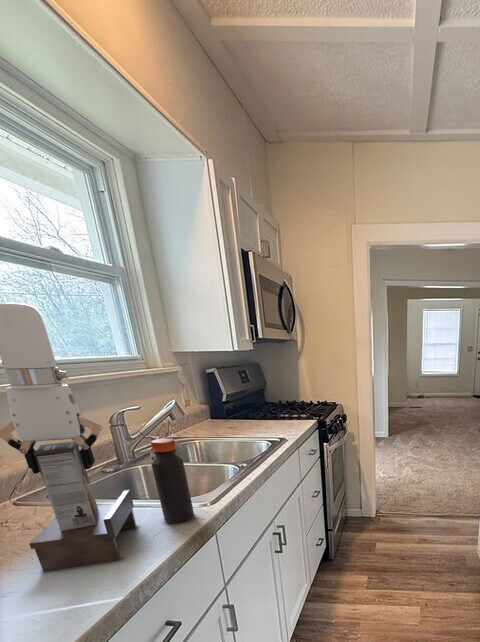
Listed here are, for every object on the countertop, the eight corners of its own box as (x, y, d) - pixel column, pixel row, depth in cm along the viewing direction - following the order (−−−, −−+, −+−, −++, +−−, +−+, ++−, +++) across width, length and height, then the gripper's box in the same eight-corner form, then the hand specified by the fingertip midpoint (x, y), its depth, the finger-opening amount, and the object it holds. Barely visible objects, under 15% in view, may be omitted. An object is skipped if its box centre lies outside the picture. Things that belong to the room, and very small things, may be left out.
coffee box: (64, 516, 87) (39, 444, 81) (99, 510, 90) (78, 440, 84) (60, 532, 80) (32, 453, 74) (98, 525, 83) (75, 449, 77)
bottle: (181, 511, 106) (165, 436, 98) (200, 515, 103) (184, 438, 95) (158, 521, 100) (139, 442, 92) (177, 526, 97) (159, 445, 90)
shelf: (40, 571, 78) (23, 529, 74) (71, 534, 94) (58, 497, 90) (122, 559, 82) (110, 518, 79) (139, 525, 98) (129, 489, 94)
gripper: (95, 375, 80) (118, 460, 87) (-14, 378, 75) (20, 468, 81) (83, 378, 73) (109, 470, 80) (-37, 381, 68) (2, 479, 75)
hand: (64, 469), depth 81 cm, fingers open, 8 cm apart
